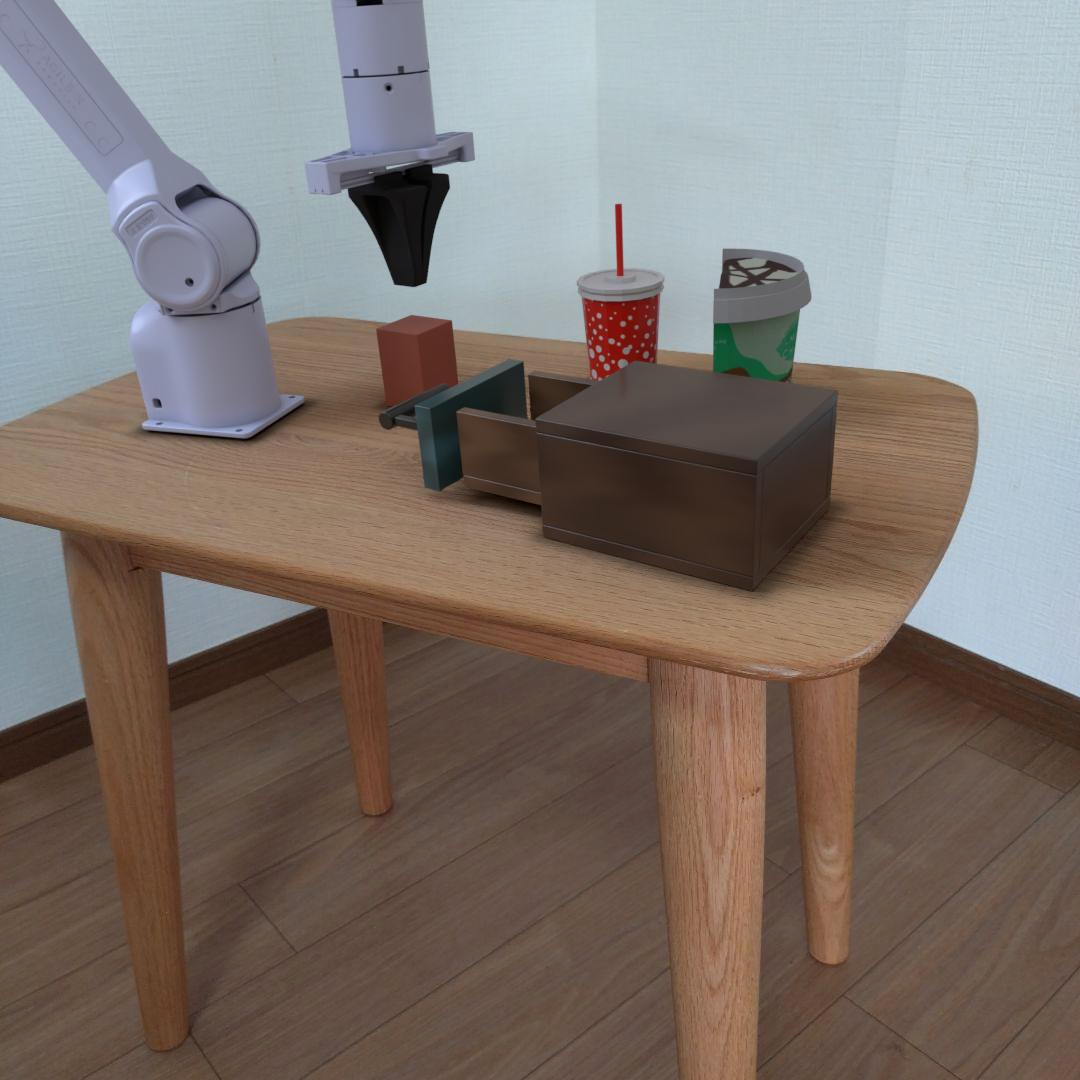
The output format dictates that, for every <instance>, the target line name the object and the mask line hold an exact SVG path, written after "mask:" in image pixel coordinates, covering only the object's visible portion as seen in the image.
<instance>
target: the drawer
mask: <svg viewBox="0 0 1080 1080" xmlns="http://www.w3.org/2000/svg"><path fill="white" fill-rule="evenodd" d="M527 382H528V395H529V411H530V419H529V417H528V402H527V389H526V376H525V363H524V361H523V360H518V359H513V358H512V359H511V358H508V359H506V360H504V361H502V362H500V363H498V364H496V365H494V366H492V367H490V368H487V369H485V370H484V371H482V372H480V373H477V374H475V375H473V376H471V377H470V378H467V379H465V380H464V381H461V382H458V384H457V385H455V386H453V387H451V388H450V387H449V386H448V385H447V384H445V383H441V384H439V385H437V386H435V387H433V388H431V389H429V390H427V391H424V392H422V393H420V394H418V395H416V396H414V397H412V398H410V399H408V400H406V401H404V402H402V403H400V404H398V405H396V406H393V407H390V408H387V409H385V410H384V411H381V412H380V413H379V414H378V423H379V425H380V426H381V428H383V429H384V430H387V431H391V430H392V429H395V428H396V427H399V428H403V429H408V430H412V431H413V430H414V431H417V435H418V443H419V451H420V460H421V467H422V476H423V484H424V488H425V489H428V490H432V491H437V492H441V491H443V490H445V489H446V488H448V487H450V486H451V485H453V484H455V483H457V482H458V481H460V480H462V479H463V480H462V481H463V487H465V488H467V489H471V490H472V489H473V490H476V491H480V492H485V493H490V494H492V495H493V494H494V495H497V496H501V497H506V498H509V499H513V500H518V501H523V502H526V503H531V504H535V505H539V506H541V496H540V482H539V467H538V452H537V438H536V433H537V432H536V423H535V419H536V418H537V417H539V416H540V415H542V414H544V413H546V412H547V411H549V410H551V409H552V408H554V407H556V406H558V405H559V404H561V403H563V402H564V401H566V400H568V399H570V398H571V397H573V396H575V395H576V394H578V393H580V392H582V391H583V390H585V389H587V388H589V387H590V386H592V385H594V384H595V383H597V382H599V381H598V380H592V379H590V378H584V377H579V376H572V375H567V374H560V373H553V372H546V371H541V370H533V371H530V372H529V373H528V374H527Z"/></svg>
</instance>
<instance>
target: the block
mask: <svg viewBox="0 0 1080 1080" xmlns="http://www.w3.org/2000/svg"><path fill="white" fill-rule="evenodd" d="M375 332H376V341H377V346H378V347H377V348H378V353H379V360H380V367H381V368H380V369H381V375H382V381H383V382H382V384H383V389H384V398H385V403H386V407H390V408H391V407H393V406H396V405H398V404H400V403H402V402H404V401H406V400H408V399H410V398H412V397H414V396H416V395H418V394H420V393H422V392H424V391H427V390H429V389H431V388H433V387H435V386H437V385H439V384H441V383H445V384H447V385H448V386H449V387H450V388H451V387H453V386H455V385H457V384H459V375H458V374H459V373H458V366H457V357H456V346H455V345H456V344H455V337H454V326H453V320H452V319H445V318H438V317H430V316H423V315H415V314H410V315H407V316H404V317H403V318H400V319H397V320H395V321H392V322H390V323H387V324H384V325H382V326H379V327H377V328H375Z"/></svg>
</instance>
